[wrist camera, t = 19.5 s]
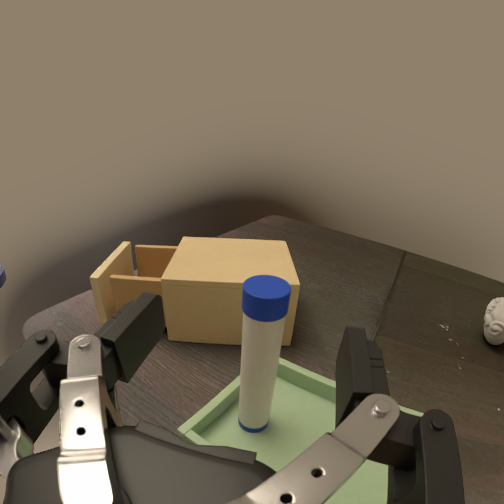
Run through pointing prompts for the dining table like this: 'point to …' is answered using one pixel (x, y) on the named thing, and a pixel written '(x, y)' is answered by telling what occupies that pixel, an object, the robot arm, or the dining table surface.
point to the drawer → (129, 277)
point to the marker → (261, 347)
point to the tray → (287, 429)
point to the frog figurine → (494, 322)
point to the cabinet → (220, 287)
